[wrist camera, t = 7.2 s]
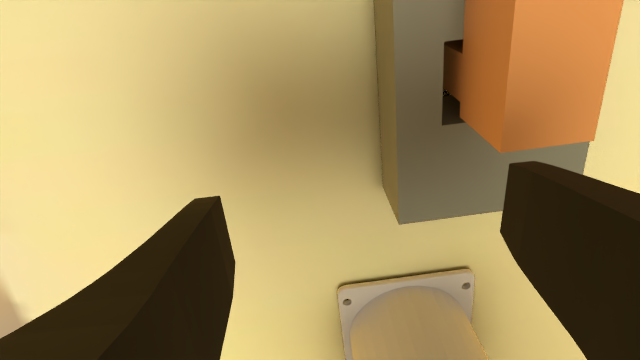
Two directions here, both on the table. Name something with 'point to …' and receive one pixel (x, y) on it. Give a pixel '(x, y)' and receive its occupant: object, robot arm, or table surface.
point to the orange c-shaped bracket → (532, 69)
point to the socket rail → (437, 121)
